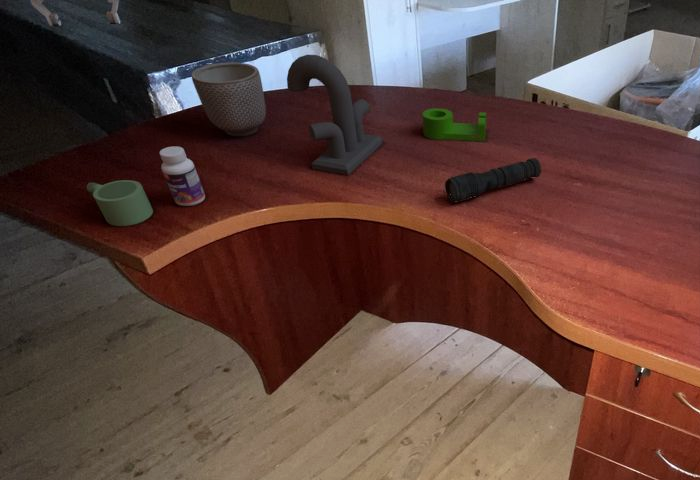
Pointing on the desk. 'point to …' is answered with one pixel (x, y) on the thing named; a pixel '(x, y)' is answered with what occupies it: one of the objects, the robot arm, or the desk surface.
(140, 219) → the scoop
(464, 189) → the flashlight
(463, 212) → the desk surface
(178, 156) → the pill bottle
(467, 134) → the tape dispenser
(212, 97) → the planter
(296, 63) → the faucet
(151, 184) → the desk surface
